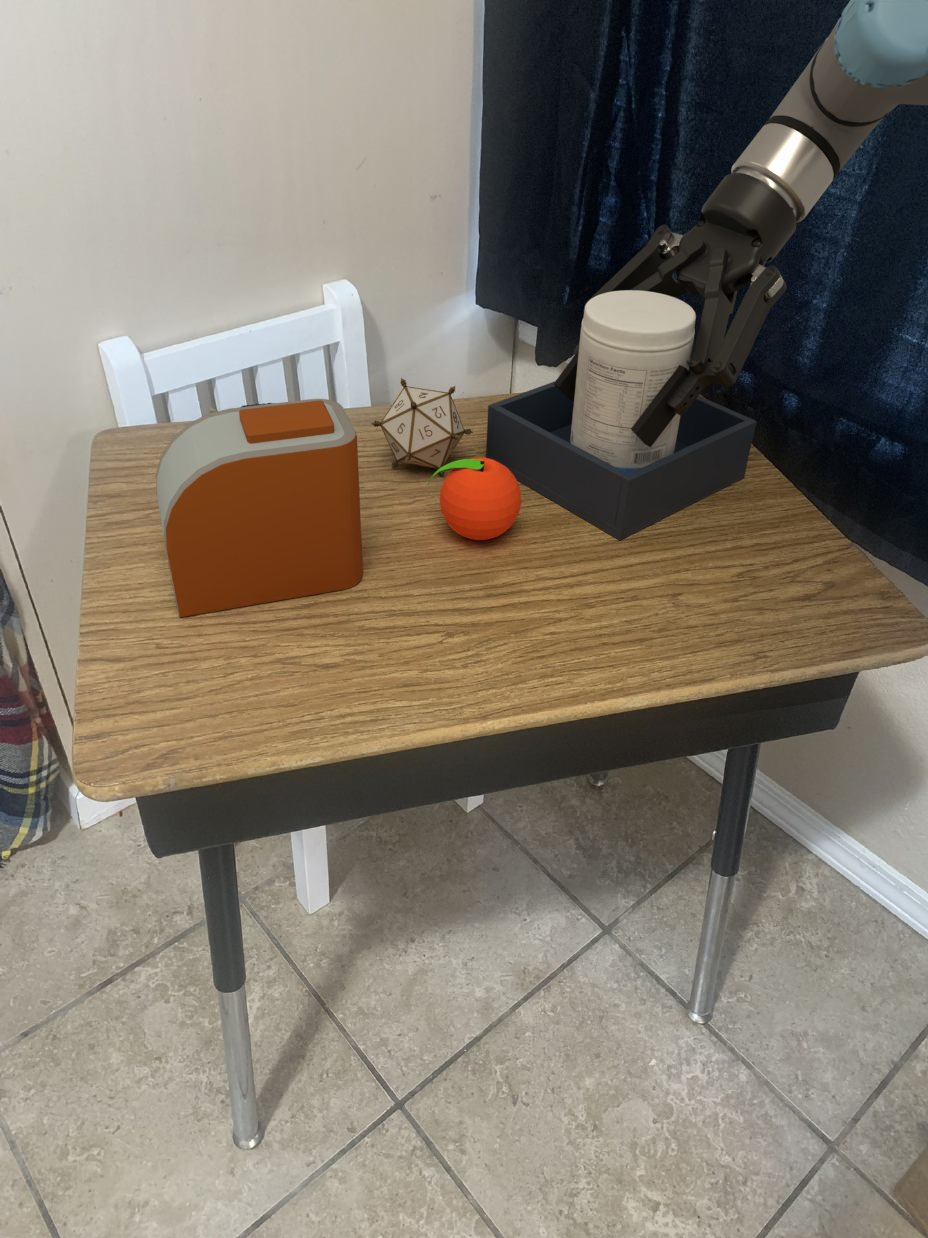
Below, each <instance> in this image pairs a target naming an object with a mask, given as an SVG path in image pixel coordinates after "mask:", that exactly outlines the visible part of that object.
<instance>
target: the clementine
mask: <svg viewBox="0 0 928 1238" xmlns="http://www.w3.org/2000/svg"><path fill="white" fill-rule="evenodd" d="M450 469H451V470H450ZM443 470H444V471H446V470H450V471H449V472H448V473H447V475H446V476H445V477H444V481H443V482H442V484H441V486H440V491H439V505H440V511H441V514H442V517H443V518H444V520H445V522H446V524H447V525H448V527H450V528H451V529H452V530H453V531H454V532H455V533H456V534H459V535H460V536H462V537H464V538H467V539H470V540H474V541H487V540H490V539H494V538H497V537H499V536H501V535H503V534H504V533H505V532H506V531H508V530H509V529H510V528H511V527H512V526H513V525H514V523H515V522H516V520H517V518H518V516H519V513H520V509H521V505H522V494H521V493H522V492H521V487H520V485H519V481H517V480H516V478H515V476H514V475H513V474H512V473H511V471H510V470H509V469H508V468H507V467H506V466H504V465H503V464H501V463H499V462H497V461H495V460H492V459H489V458H486V457H473V458H465V459H464V458H463V459H459V460H454V461H451V462H449V463H447V464H446V463H445V464H444V465H443V467H441V468H439V469H436V471H435V472H433V474H432V475H431V477H430V479H429V481H428V483H427V485H429V484H430V482H431V481H432V479H433V477H435V476H436V475H438V474H439V473H440V471H443Z"/></svg>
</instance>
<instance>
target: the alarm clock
mask: <svg viewBox="0 0 928 1238" xmlns="http://www.w3.org/2000/svg"><path fill="white" fill-rule="evenodd" d="M273 403H274V404H267V403H264V404H265V405H256V406H248V407H241V406H240V407H231V408H227V409H222V410H218V411H217V412H213V413H210V412H209V413H207V414H204V415H203V416H200V417H198V418H196V419H195V420H193V421H191V422H189V423H187V424H186V425H185V426H184V427H183V428H182V429H181V430H180V431H179V432H178V433H176V434H175V435H174V436H173V437H171V439H170V441H169V442H168V444H167V446H166V447H165V449H164V450H163V452H162V454H161V455H160V459H159V462H158V466H157V468H156V473H155V486H156V487H155V490H156V500H157V505H158V509H159V510H158V512H159V517H160V523H161V530H162V536H163V542H164V548H165V552H166V558H167V563H168V568H169V573H170V579H171V584H172V589H173V593H174V599H175V604H176V610H177V615H178V618H184V617H190V616H195V615H201V614H208V613H213V612H219V611H225V610H231V609H237V608H242V607H243V608H244V607H248V606H254V605H260V604H267V603H273V602H279V601H283V600H291V599H296V598H301V597H309V596H313V595H319V594H325V593H331V592H338V591H344V590H347V589H350V588H353V587H355V586H356V585H358V584H359V583H360V581H361V580H362V579H363V575H364V564H363V563H364V561H363V544H362V543H363V541H362V540H363V539H362V518H361V517H362V515H361V501H360V500H361V498H360V497H361V495H360V476H359V474H360V473H359V451H358V435H357V432H356V430H355V428H354V425H353V424H352V422H351V420H350V418H349V416H348V414H347V412H346V411H345V409H344V407H343V406H342V404H341V403H339V402H337V401H335V400H332V399H326V398H309V399H301V400H300V399H299V400H291V401H283V402H273Z"/></svg>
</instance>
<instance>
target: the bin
mask: <svg viewBox="0 0 928 1238" xmlns="http://www.w3.org/2000/svg"><path fill="white" fill-rule="evenodd" d="M555 381H556V380H554V381H552V382H548V383H546V384H543V385H540V386H538V387H535V388H533V389H530V390H526V391H523V392H522V393H519V394H516V395H513V396H510V397H507V398H504V399H502V400H499V401H497V402H494V403H491V404H487V405H488V406H487V423H486V425H487V426H486V445H485V446H486V447H485V448H486V449H485V458H489V459H492V460H495V461H497V462H499V463H501V464H503V465H504V466H506V467H507V468H508V469H509V470H510V471H511V473H512V474H513V475H514V476H515V478H516V480H517V482H518V483H520V484H522V485H524V486H526V487H527V488H530V489H531V490H533V491H534V492H537V493H538V494H540V495H541V496H543V497H545V498H546V499H548V500H550V501H552V502H553V503H555V504H557V505H559V506H560V507H562V508H564V509H565V510H567V511H568V512H570V513H572V514H574V515H575V516H577V517H579V518H581V519H582V520H584V521H586V522H588V523H589V524H591V525H592V526H595V527H596V528H598V529H600V530H601V531H603V532H604V533H606V534H607V535H610V536H611V537H613V538H615V539H617V540H618V541H622V540H624V539H626V538H627V537H630V536H632V535H634V534H637V533H638V532H640V531H642V530H644V529H646V528H648V527H650V526H653V525H654V524H656V523H658V522H660V521H661V520H664V519H666V518H667V517H670V516H671V515H674V514H676V513H678V512H679V511H682V510H683V509H685V508H687V507H689V506H692V505H693V504H695V503H697V502H699V501H701V500H703V499H705V498H707V497H709V496H711V495H713V494H715V493H716V492H719V491H721V490H723V489H724V488H727V487H729V486H731V485H733V484H735V483H736V482H738V481H740V480H742V479H744V478H745V476H746V475H745V474H746V470H747V467H748V461H749V458H750V457H749V456H750V454H751V453H750V452H751V448H752V444H753V439H754V435H755V431H756V427H757V422H758V421H756V420H755V419H752V418H750V417H748V416H747V415H744V414H741V413H740V412H739V413H738V412H737V411H735V410H731V409H730V408H727V407H725V406H724V405H721V404H718V403H716V402H714V401H713V400H709V399H707V398H705V397H703V396H700V395H699V396H698V397H697V398H696V399H695V401H694V402H693V403H692V405H691V406H690V407H689V409H688V410H687V411H686V412H685V413H684V414H682V415H681V416H680V422H679V427H678V433H677V439H676V444H675V450H674V453H673V454H671V455H669V456H667V457H665V458H662V459H660V460H658V461H656V462H654V463H651V464H649V465H647V466H645V467H643V468H640V469H638V470H636V471H634V472H632V473H630V474H627V473H625V472H623V471H622V470H620V469H618V468H616V467H614V466H612V465H610V464H608V463H606V462H605V461H603V460H601V459H599V458H597V457H595V456H593V455H591V454H589V453H588V452H586V451H584V450H582V449H580V448H578V447H576V446H574V445H572V444H570V438H571V428H572V417H573V407H574V401H571V400H569V399H568V398H567V397H566V396H565V395H564V394H563V393H562V392H561V391H560V390H559V389H558V388H557V387H556V386H555V385H554V382H555Z"/></svg>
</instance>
